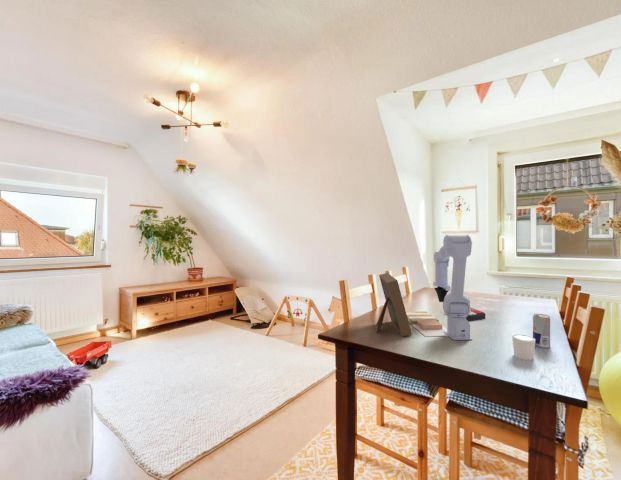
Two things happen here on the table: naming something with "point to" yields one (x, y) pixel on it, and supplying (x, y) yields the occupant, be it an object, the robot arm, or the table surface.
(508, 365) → the table surface
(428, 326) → the tile
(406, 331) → the photo frame
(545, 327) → the energy drink
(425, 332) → the mat
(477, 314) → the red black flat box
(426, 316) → the deck
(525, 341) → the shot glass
